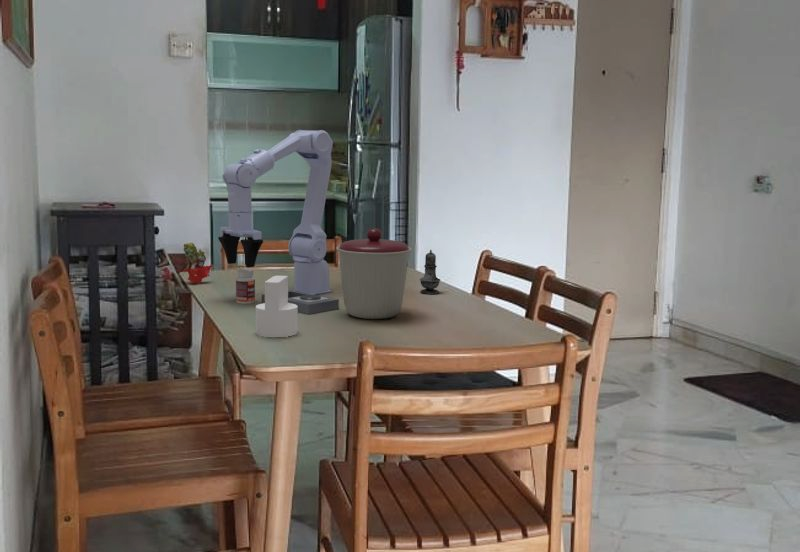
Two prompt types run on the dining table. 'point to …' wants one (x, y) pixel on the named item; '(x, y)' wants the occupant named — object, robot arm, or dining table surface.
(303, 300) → the socket strip
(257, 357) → the dining table surface
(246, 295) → the pill bottle
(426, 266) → the salt shaker
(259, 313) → the base with upright slab
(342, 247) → the canister
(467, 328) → the dining table surface
